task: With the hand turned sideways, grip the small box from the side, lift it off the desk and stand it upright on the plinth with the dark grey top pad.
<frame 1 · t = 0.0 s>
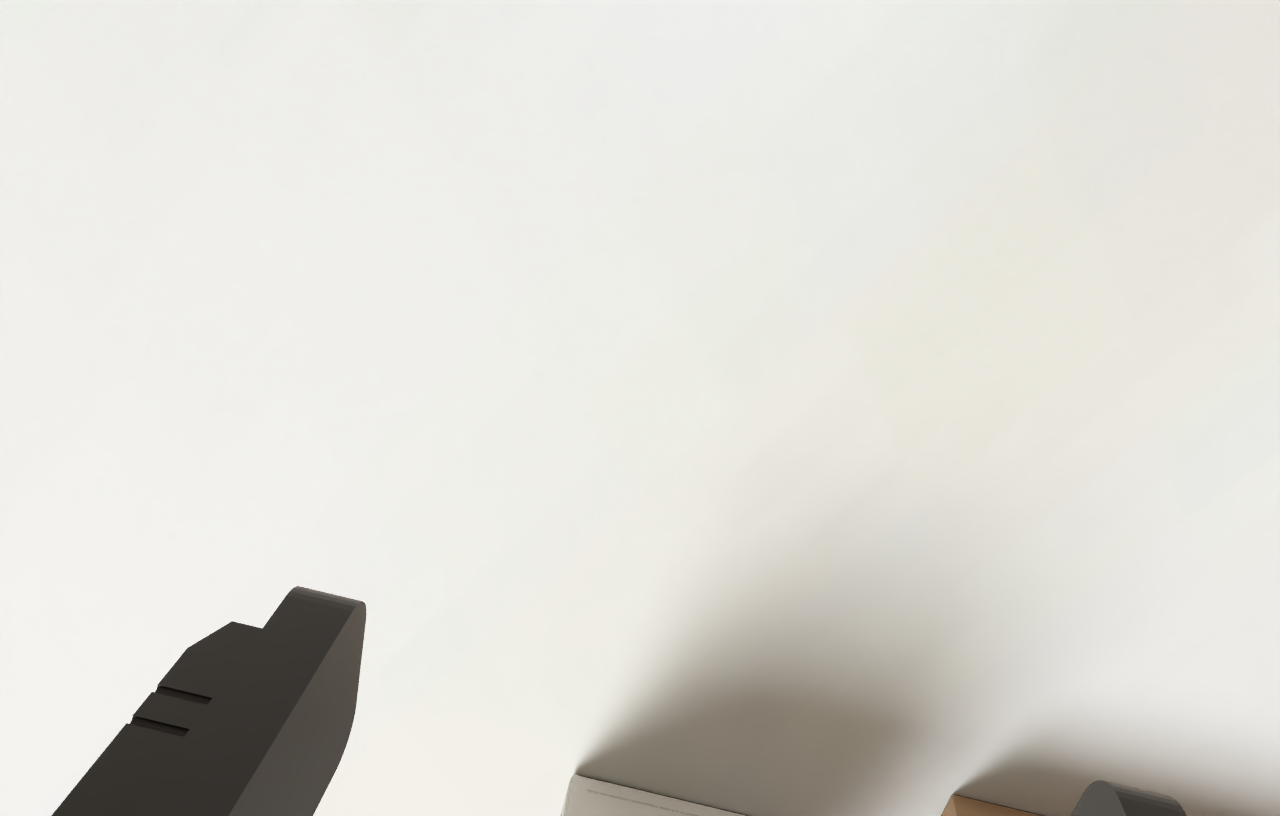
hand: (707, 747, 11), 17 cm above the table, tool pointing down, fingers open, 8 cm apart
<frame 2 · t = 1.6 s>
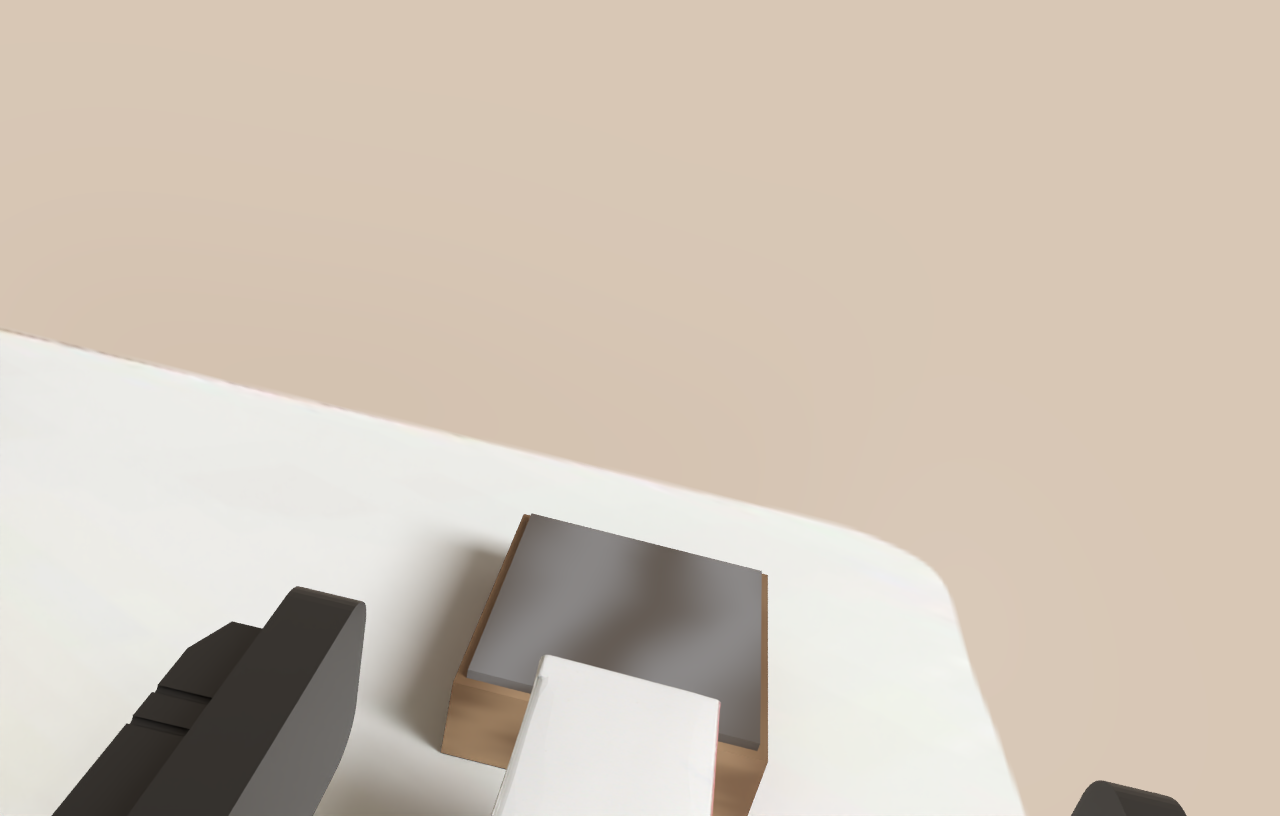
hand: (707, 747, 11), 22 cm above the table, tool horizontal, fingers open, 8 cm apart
plinth: (612, 685, 44), on the table
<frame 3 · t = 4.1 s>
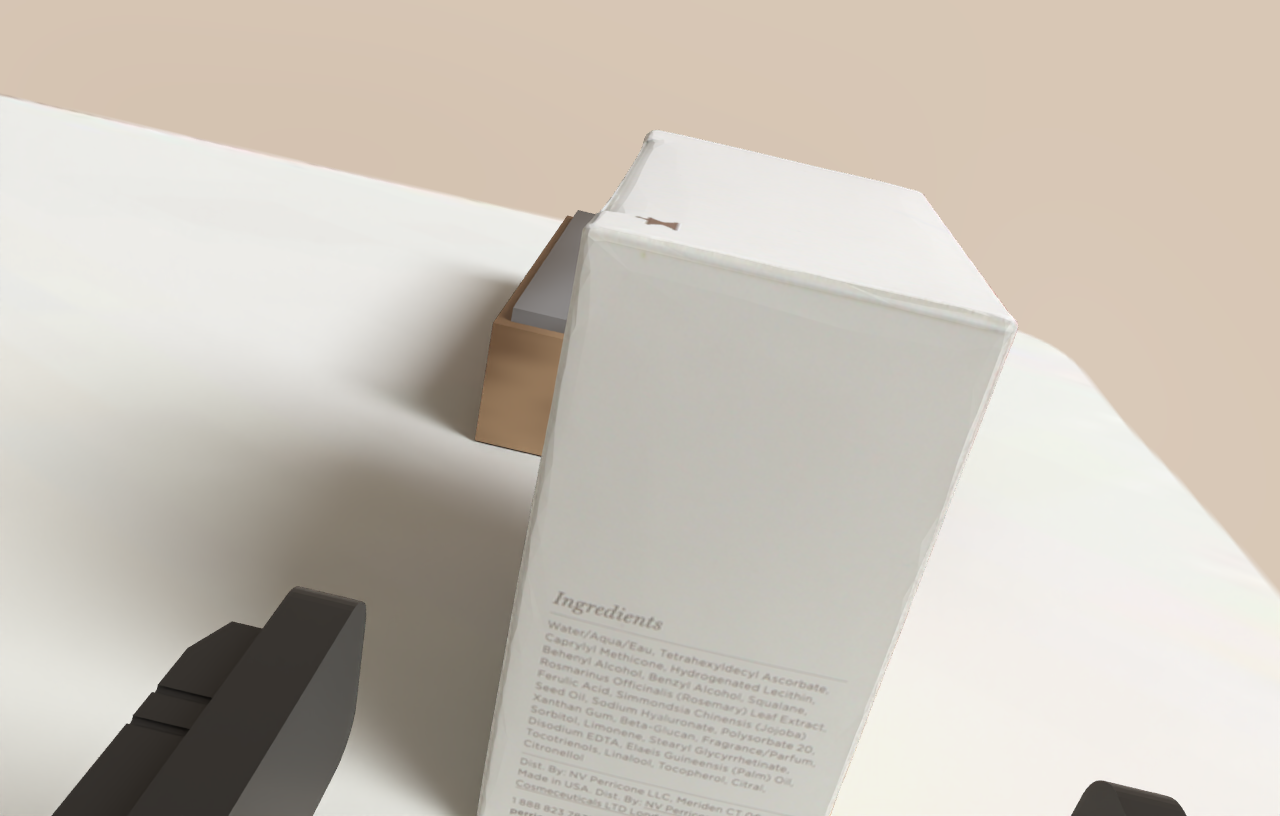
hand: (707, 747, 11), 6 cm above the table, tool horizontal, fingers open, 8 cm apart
plinth: (693, 402, 34), on the table
small box: (652, 716, 20), on the table
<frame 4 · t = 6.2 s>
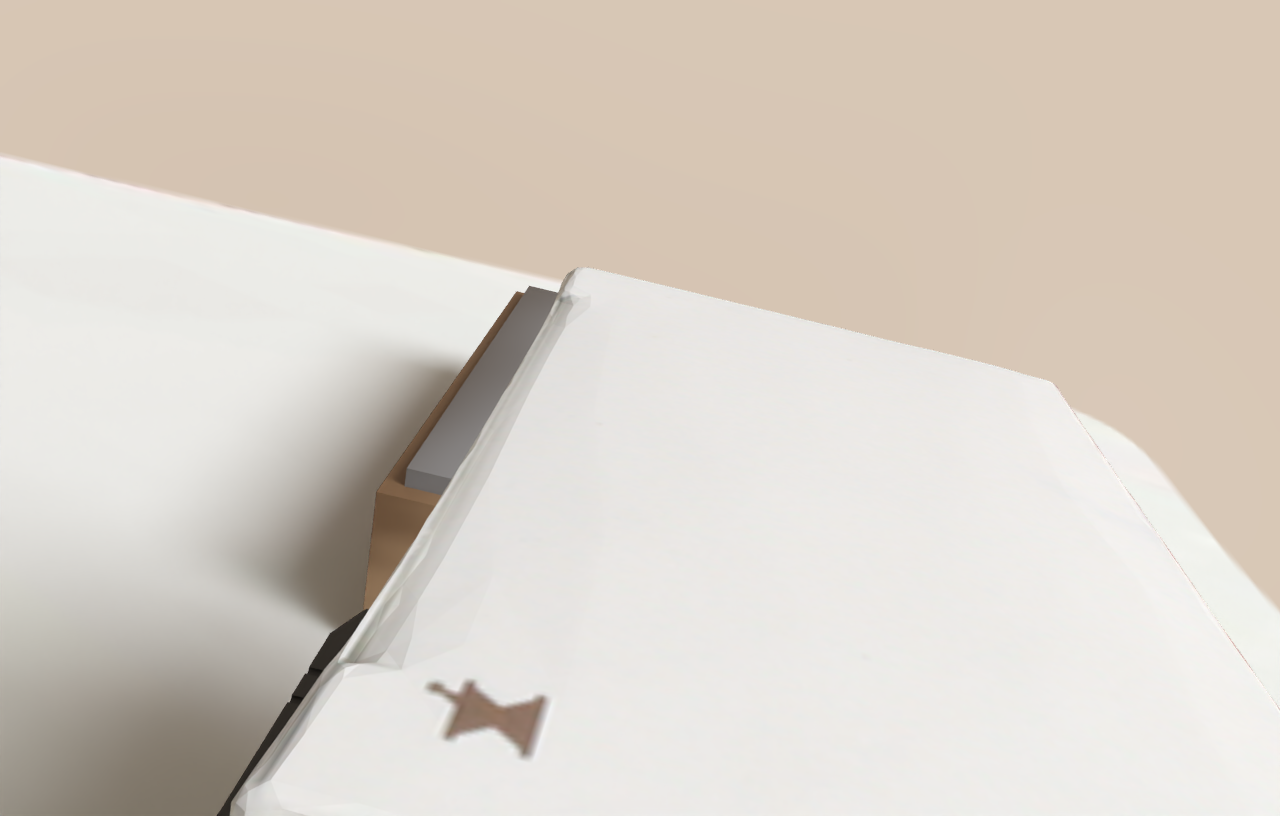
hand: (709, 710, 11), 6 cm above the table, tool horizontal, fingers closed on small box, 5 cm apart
plinth: (673, 551, 25), on the table
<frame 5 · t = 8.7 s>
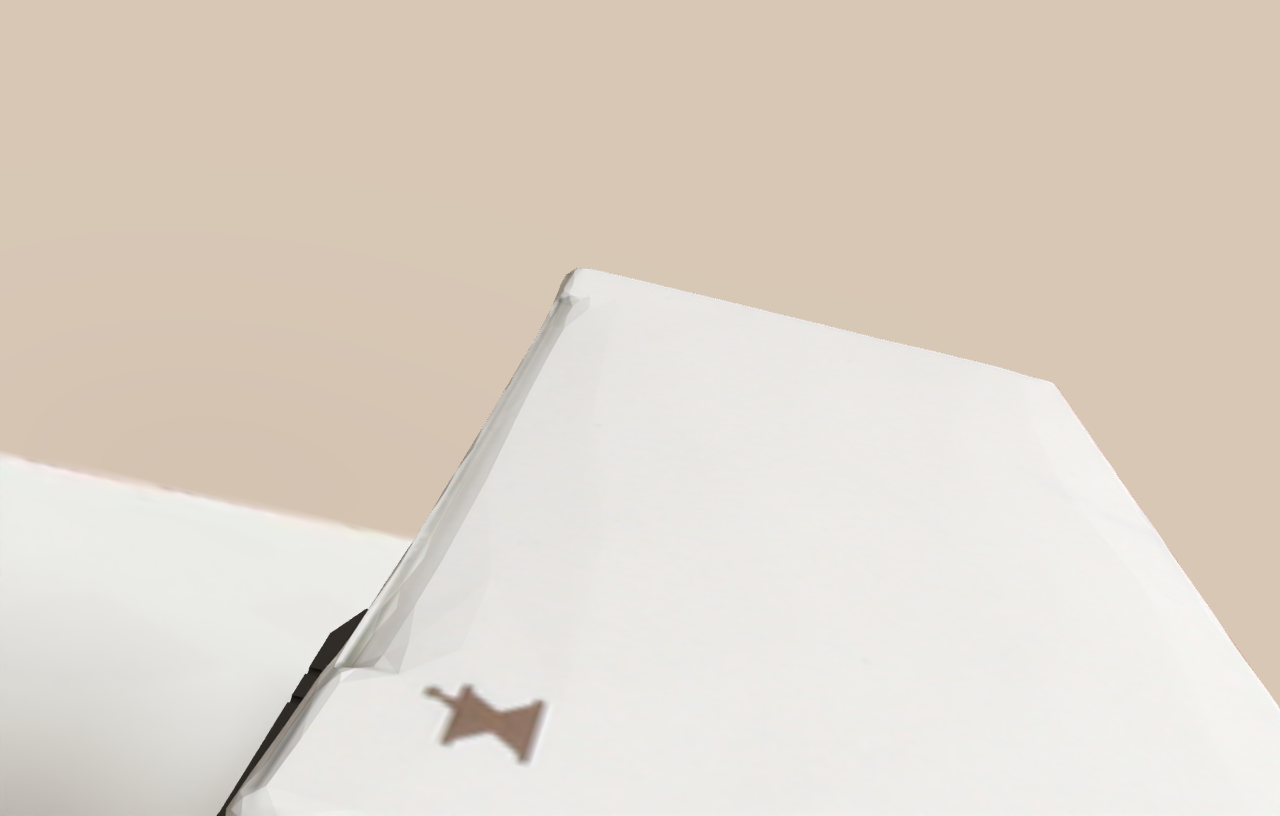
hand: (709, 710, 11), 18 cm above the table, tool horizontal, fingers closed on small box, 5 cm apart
when the fingers open (11 cm above the table, at t = 11.5 s): small box drops 1 cm, resting on plinth.
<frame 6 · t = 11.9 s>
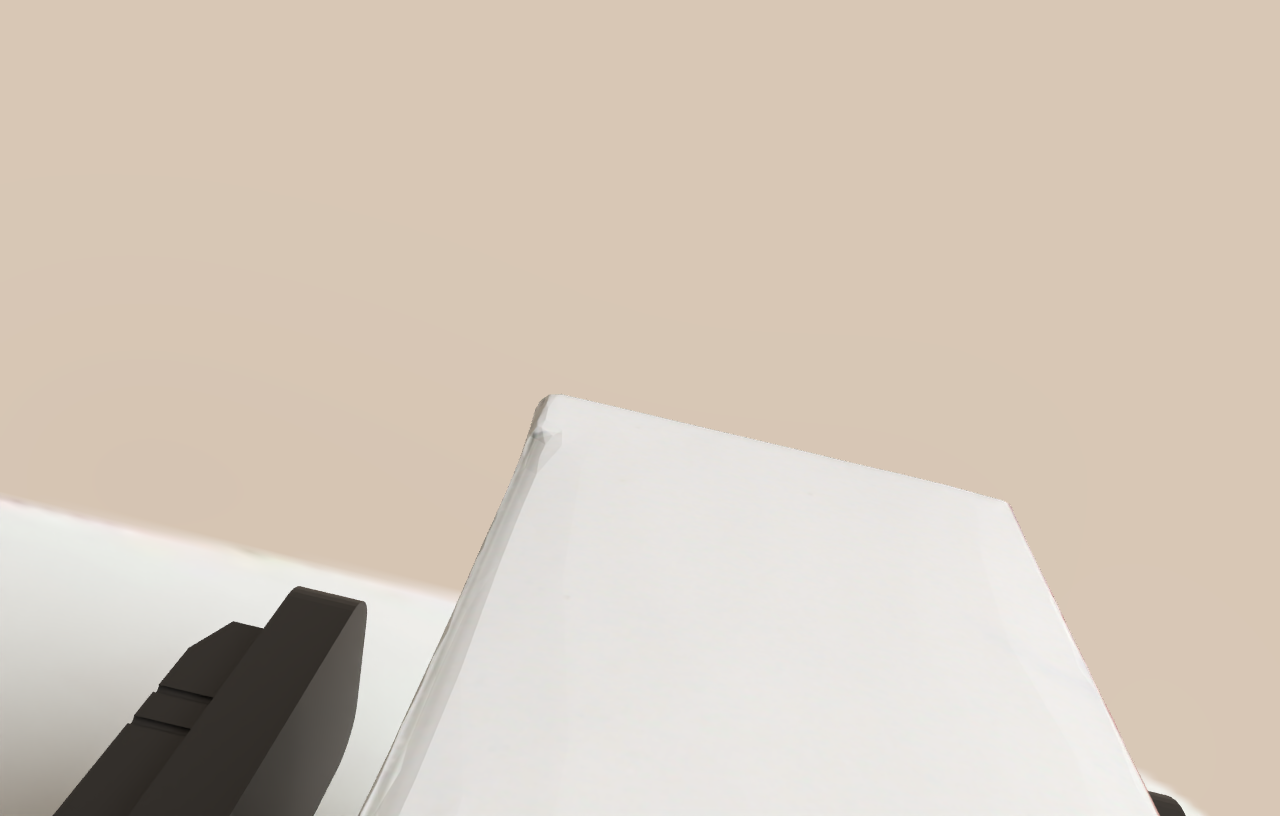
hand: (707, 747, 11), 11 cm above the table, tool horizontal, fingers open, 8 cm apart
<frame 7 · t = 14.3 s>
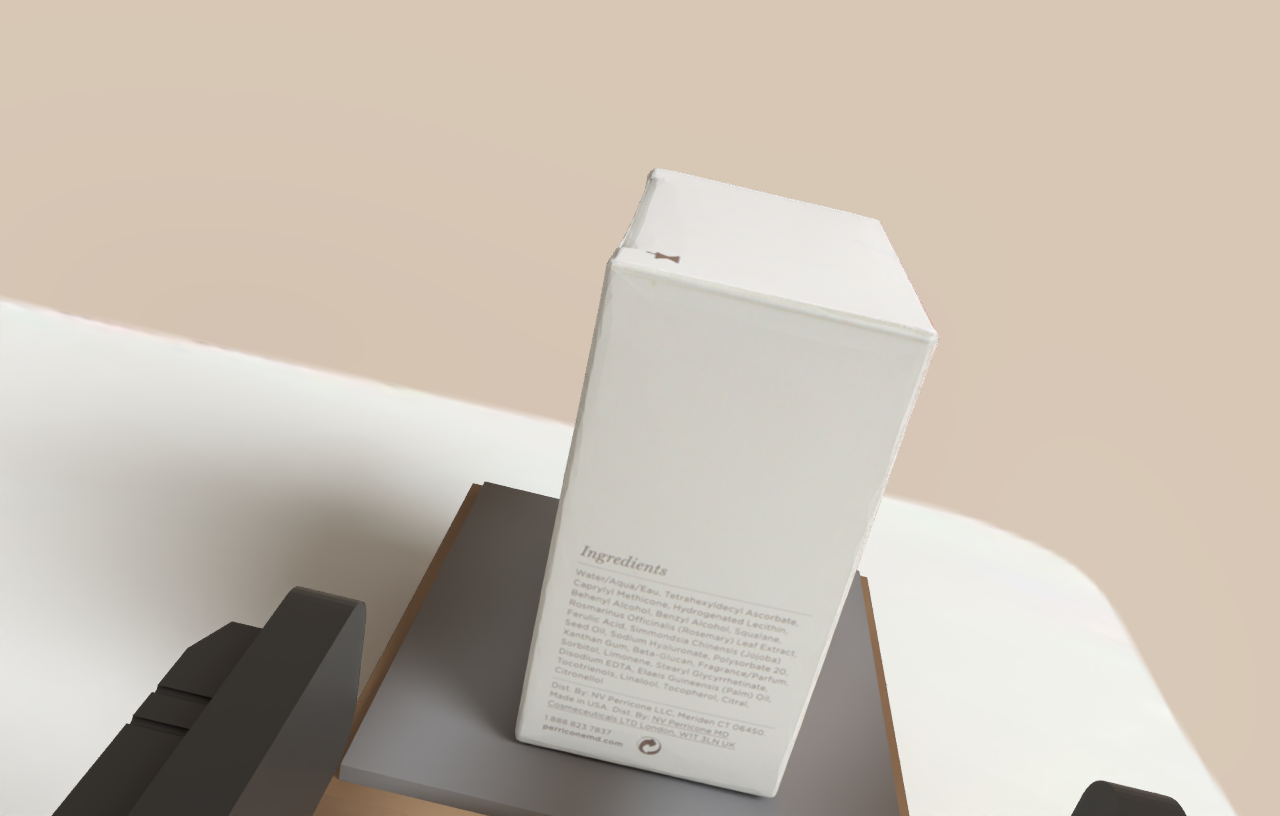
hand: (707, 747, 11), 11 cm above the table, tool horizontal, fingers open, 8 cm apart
plinth: (621, 768, 26), on the table
small box: (655, 660, 24), point 4 cm above the table, touching plinth
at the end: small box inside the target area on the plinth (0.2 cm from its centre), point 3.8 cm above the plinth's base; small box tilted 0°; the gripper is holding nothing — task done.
